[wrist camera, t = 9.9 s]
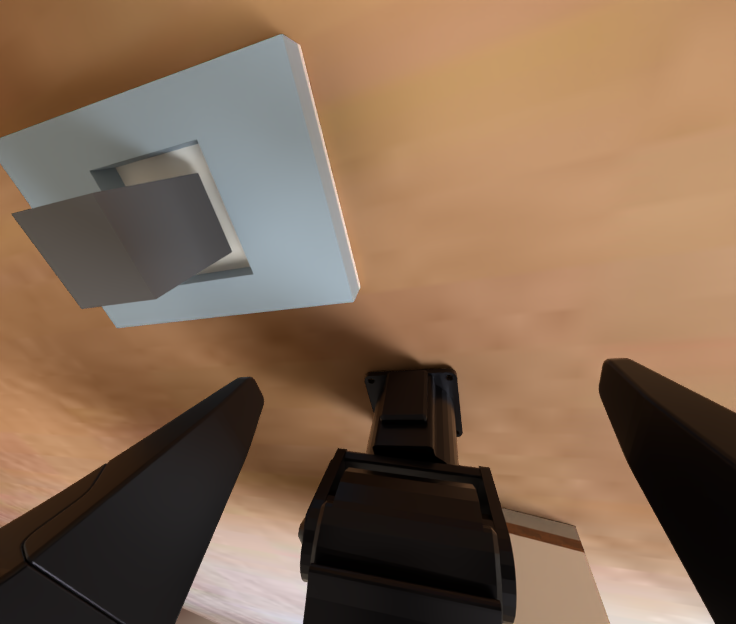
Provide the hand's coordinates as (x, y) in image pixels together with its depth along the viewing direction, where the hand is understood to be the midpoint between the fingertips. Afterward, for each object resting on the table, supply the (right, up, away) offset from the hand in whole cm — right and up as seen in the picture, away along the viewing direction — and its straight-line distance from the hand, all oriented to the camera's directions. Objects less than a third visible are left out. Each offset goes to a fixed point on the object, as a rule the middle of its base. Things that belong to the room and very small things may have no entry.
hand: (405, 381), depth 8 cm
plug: (-11, +7, +11) cm, 17 cm away
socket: (-11, +8, +11) cm, 17 cm away
